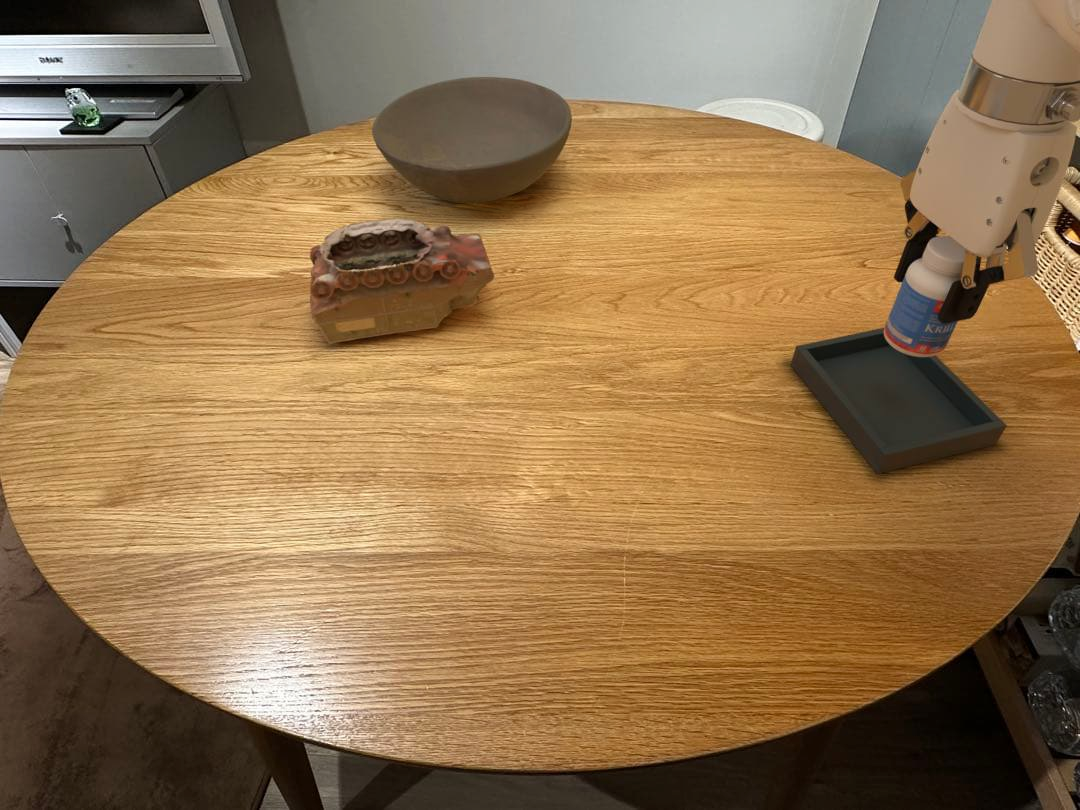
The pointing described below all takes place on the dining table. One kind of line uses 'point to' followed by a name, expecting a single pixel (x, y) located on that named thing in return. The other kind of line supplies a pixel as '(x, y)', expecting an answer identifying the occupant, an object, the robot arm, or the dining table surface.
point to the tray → (895, 401)
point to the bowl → (474, 136)
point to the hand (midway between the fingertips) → (932, 296)
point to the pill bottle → (925, 300)
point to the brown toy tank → (393, 277)
